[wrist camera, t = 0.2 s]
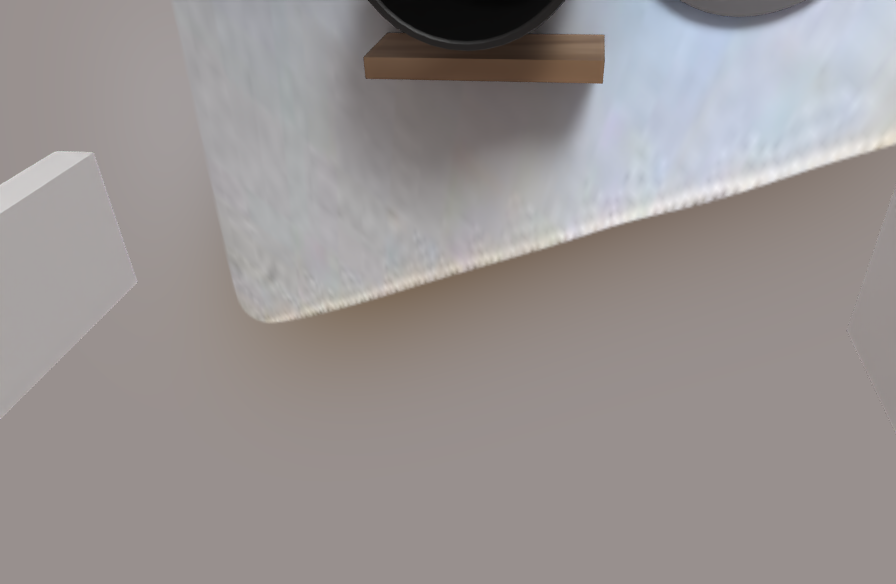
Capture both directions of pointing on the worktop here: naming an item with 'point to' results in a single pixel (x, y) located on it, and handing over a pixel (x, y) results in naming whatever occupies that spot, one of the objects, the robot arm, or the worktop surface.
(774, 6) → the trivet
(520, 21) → the mug
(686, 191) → the worktop surface
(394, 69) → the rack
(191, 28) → the worktop surface
